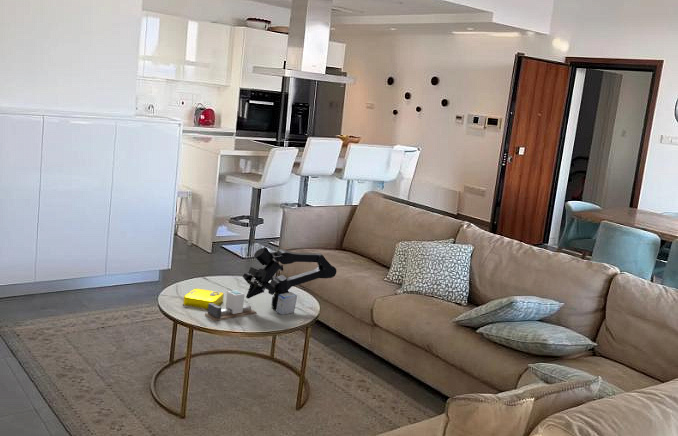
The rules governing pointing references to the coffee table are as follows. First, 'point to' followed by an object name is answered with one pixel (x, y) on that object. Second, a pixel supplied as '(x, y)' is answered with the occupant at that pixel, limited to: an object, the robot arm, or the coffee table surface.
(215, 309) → the rail
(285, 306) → the medicine box
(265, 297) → the coffee table surface
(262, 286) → the robot arm
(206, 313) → the mounting board
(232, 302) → the block
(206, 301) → the element tile
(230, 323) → the coffee table surface
